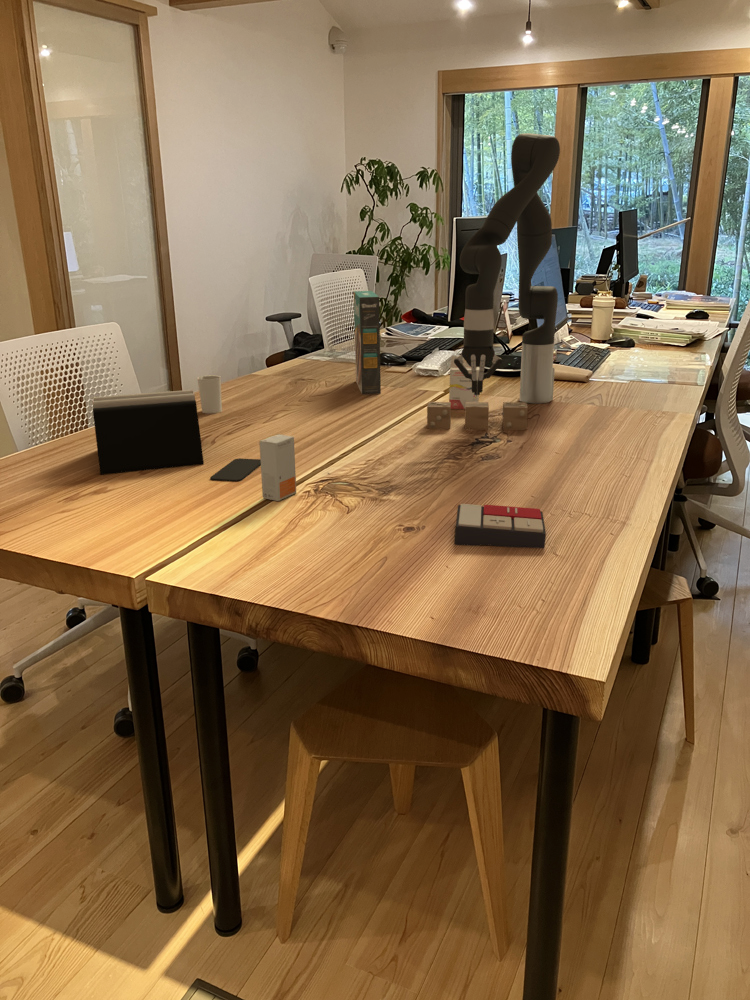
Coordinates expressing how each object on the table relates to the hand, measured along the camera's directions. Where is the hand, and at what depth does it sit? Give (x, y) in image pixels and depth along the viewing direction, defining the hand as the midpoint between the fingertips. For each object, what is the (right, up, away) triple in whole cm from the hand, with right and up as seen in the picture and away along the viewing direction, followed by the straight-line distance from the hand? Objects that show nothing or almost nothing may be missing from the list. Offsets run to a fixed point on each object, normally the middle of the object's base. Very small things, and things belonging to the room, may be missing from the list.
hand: (477, 394), depth 204 cm
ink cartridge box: (-1, -1, +24) cm, 24 cm away
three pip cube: (-10, -8, +4) cm, 13 cm away
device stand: (-80, -18, -18) cm, 84 cm away
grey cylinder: (-75, -2, +26) cm, 79 cm away
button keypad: (-5, -34, -68) cm, 76 cm away
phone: (-57, -22, -30) cm, 68 cm away
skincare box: (-46, -27, -47) cm, 71 cm away
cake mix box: (-29, +10, +54) cm, 62 cm away
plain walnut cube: (0, -8, +3) cm, 9 cm away
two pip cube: (+10, -8, +2) cm, 13 cm away
